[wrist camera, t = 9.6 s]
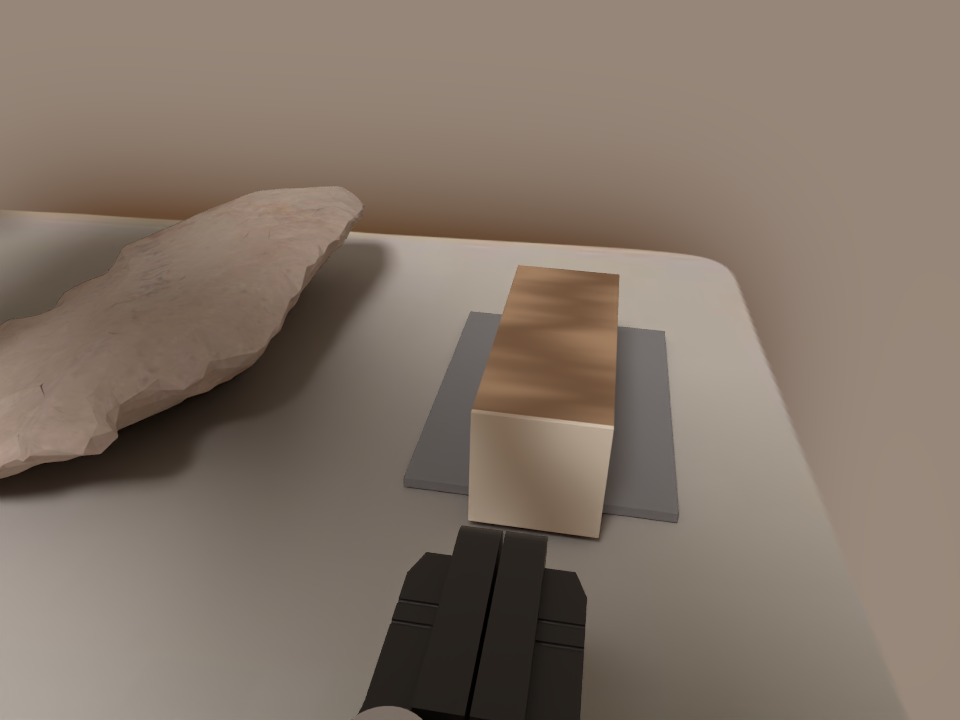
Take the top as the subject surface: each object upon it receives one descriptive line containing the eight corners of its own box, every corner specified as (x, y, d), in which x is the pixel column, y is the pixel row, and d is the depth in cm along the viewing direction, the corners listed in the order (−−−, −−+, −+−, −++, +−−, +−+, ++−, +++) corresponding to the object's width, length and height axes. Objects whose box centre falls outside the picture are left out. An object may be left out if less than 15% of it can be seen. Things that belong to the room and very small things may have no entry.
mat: (404, 486, 29) (403, 477, 29) (470, 318, 41) (470, 311, 41) (676, 522, 28) (678, 514, 28) (663, 338, 40) (664, 331, 40)
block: (470, 412, 25) (518, 265, 35) (468, 520, 27) (513, 352, 37) (613, 429, 24) (619, 274, 34) (598, 538, 26) (608, 362, 37)
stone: (-226, 426, 27) (191, 179, 47) (-137, 542, 29) (222, 261, 49) (93, 436, 22) (404, 157, 42) (165, 572, 25) (425, 249, 45)
